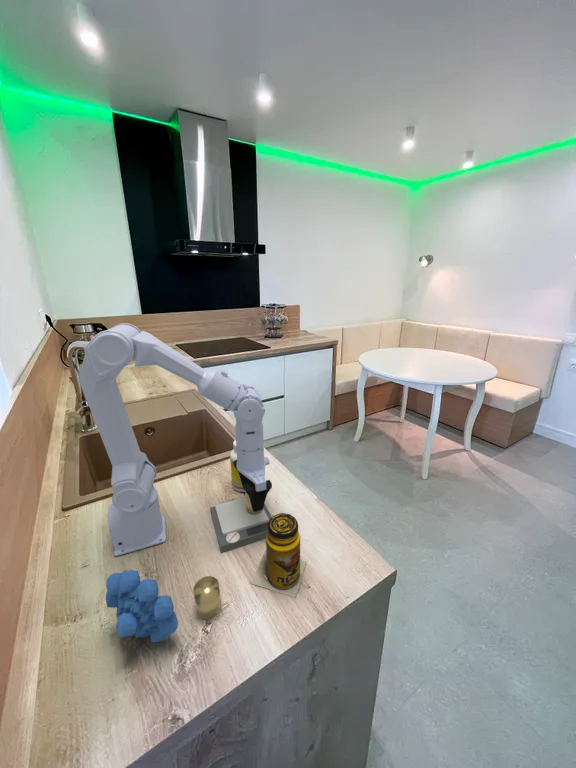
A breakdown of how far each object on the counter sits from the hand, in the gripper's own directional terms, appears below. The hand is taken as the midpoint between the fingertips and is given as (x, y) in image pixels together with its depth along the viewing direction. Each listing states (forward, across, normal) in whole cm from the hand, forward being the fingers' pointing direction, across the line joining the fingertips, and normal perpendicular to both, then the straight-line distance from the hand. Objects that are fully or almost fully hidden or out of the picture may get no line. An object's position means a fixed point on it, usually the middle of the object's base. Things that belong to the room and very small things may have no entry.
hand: (252, 498), depth 69 cm
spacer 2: (+3, 0, 0) cm, 3 cm away
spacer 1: (+5, -17, +13) cm, 22 cm away
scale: (+5, -1, +3) cm, 6 cm away
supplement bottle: (+5, +12, -1) cm, 13 cm away
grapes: (+5, -18, +23) cm, 30 cm away
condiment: (+5, -16, 0) cm, 16 cm away
